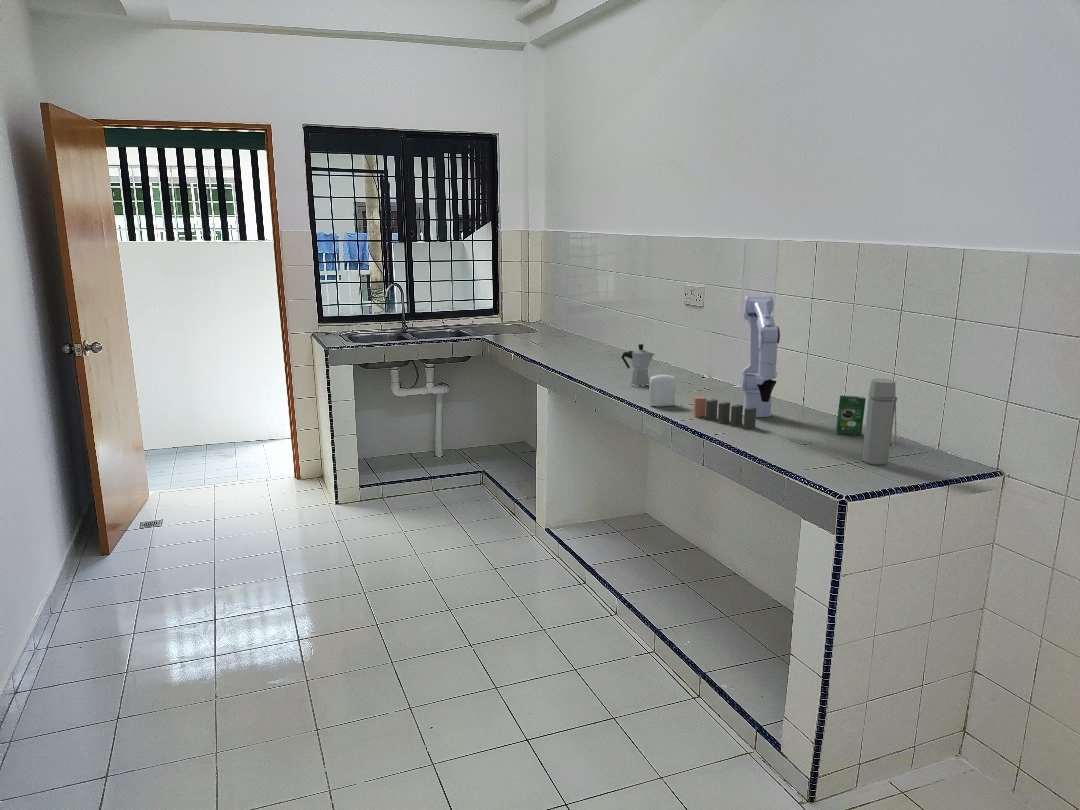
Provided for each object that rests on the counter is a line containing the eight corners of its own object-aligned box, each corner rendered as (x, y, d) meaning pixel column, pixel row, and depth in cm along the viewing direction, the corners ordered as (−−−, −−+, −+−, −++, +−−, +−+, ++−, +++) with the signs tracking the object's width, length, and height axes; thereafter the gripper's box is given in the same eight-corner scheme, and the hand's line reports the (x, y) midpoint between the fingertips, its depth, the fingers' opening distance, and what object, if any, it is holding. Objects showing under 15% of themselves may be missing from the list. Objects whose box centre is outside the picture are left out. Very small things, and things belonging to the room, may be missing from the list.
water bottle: (868, 466, 226) (876, 383, 220) (857, 458, 234) (864, 378, 228) (899, 466, 226) (908, 383, 220) (887, 458, 234) (895, 377, 228)
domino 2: (729, 421, 278) (730, 402, 277) (722, 423, 276) (723, 404, 274) (724, 420, 280) (725, 401, 278) (717, 422, 277) (718, 403, 276)
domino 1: (716, 418, 282) (717, 400, 281) (710, 420, 280) (710, 401, 278) (712, 417, 284) (713, 399, 282) (705, 419, 281) (706, 400, 280)
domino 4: (755, 427, 270) (756, 407, 268) (748, 429, 268) (749, 409, 266) (750, 426, 272) (751, 406, 270) (743, 428, 269) (744, 408, 267)
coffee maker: (654, 382, 346) (655, 342, 342) (655, 386, 337) (656, 345, 333) (620, 382, 347) (621, 342, 343) (620, 386, 339) (621, 345, 335)
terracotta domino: (705, 416, 285) (706, 398, 284) (694, 417, 285) (695, 398, 283) (703, 415, 287) (704, 397, 285) (693, 415, 287) (693, 397, 285)
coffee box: (861, 433, 261) (864, 395, 258) (862, 435, 258) (866, 397, 255) (835, 432, 262) (838, 394, 259) (837, 434, 260) (840, 396, 257)
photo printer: (650, 407, 300) (651, 376, 297) (647, 404, 304) (648, 374, 301) (676, 406, 301) (677, 375, 298) (673, 404, 305) (674, 373, 302)
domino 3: (742, 424, 274) (743, 405, 272) (735, 426, 272) (736, 407, 270) (737, 423, 276) (738, 404, 274) (730, 425, 273) (731, 406, 271)
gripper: (763, 358, 268) (761, 396, 271) (748, 364, 256) (745, 404, 259) (783, 360, 263) (781, 398, 267) (768, 366, 252) (766, 406, 255)
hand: (765, 401), depth 263 cm, fingers closed
